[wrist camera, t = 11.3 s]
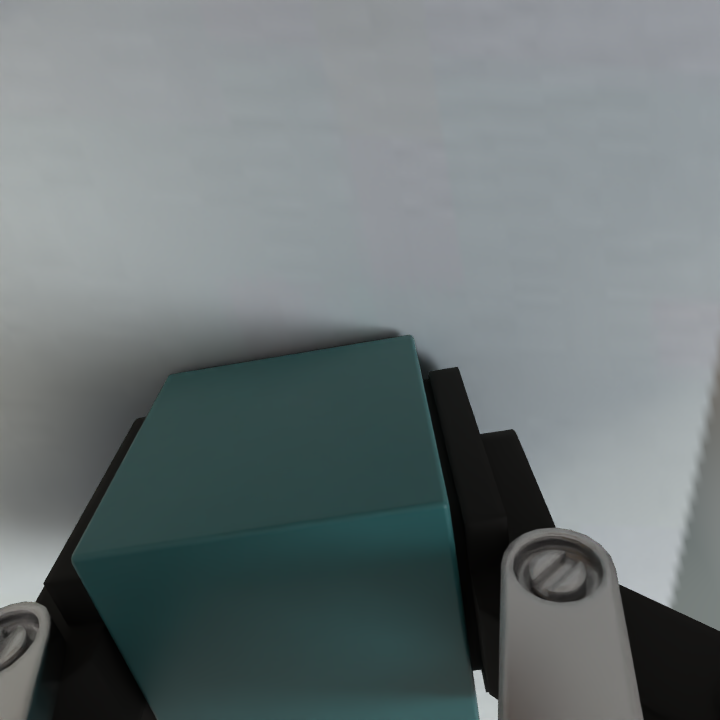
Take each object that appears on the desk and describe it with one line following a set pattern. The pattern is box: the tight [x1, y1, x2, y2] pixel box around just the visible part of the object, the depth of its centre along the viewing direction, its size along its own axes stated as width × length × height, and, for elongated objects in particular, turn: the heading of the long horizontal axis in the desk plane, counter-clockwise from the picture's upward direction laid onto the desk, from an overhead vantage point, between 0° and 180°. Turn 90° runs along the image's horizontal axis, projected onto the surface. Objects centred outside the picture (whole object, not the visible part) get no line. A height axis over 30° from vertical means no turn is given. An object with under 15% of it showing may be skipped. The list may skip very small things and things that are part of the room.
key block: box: [71, 335, 479, 720], centre depth 10 cm, size 4×4×4 cm
